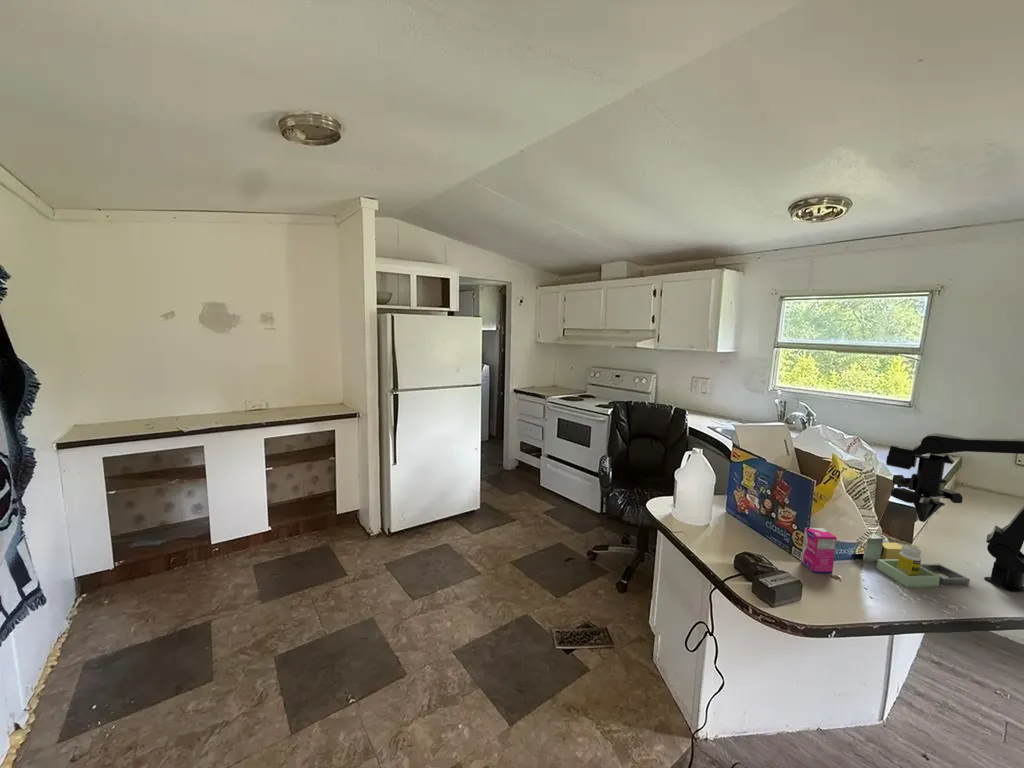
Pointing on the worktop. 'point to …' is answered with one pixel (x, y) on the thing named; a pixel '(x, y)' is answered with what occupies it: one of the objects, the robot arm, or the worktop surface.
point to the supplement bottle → (909, 560)
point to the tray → (922, 580)
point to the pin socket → (956, 577)
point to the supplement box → (818, 550)
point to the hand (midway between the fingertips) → (921, 521)
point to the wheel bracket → (873, 549)
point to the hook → (882, 535)
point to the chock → (891, 550)
